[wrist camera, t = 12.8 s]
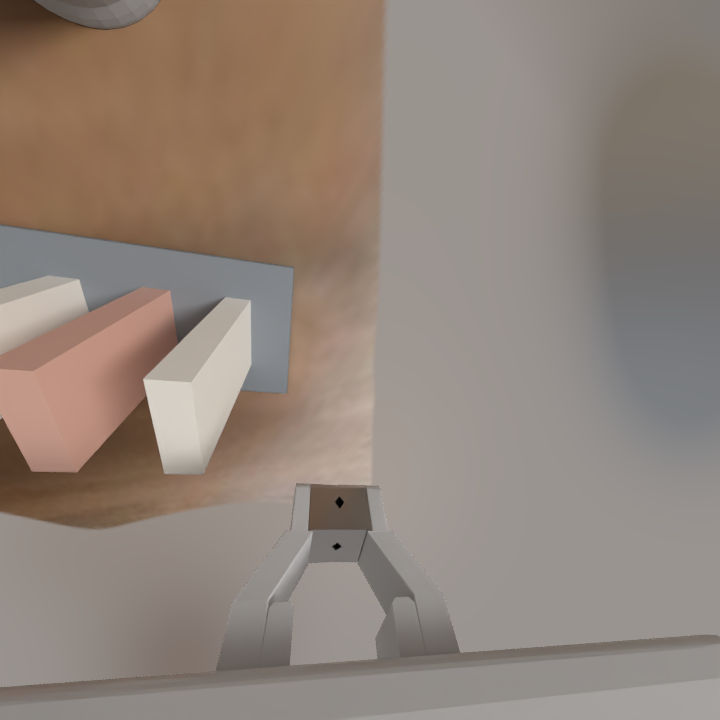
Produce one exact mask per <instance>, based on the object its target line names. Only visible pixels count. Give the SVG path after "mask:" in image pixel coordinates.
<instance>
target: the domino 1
mask: <svg viewBox="0 0 720 720" xmlns="http://www.w3.org/2000/svg"><path fill="white" fill-rule="evenodd" d="M87 313H89V311H88V308H87V304H86V301H85V297H84V294H83V291H82V287H81V284H80V280H79V279H73V278H65V277H56V276H45V277H41V278H38V279H34V280H30V281H27V282H23V283H19V284H16V285H12V286H8V287H5V288H1V289H0V355H2V354H4V353H6V352H8V351H10V350H12V349H14V348H16V347H18V346H21V345H23V344H25V343H27V342H29V341H31V340H33V339H35V338H37V337H39V336H41V335H43V334H46V333H48V332H50V331H52V330H54V329H56V328H58V327H60V326H62V325H64V324H66V323H68V322H70V321H73V320H75V319H77V318H79V317H81V316H83V315H85V314H87ZM2 418H3V417H2V415H1V414H0V419H2Z"/></svg>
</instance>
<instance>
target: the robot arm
mask: <svg viewBox="0 0 720 720" xmlns="http://www.w3.org/2000/svg"><path fill="white" fill-rule="evenodd" d="M318 562H358V565H359V567H360V568H361V570H362V572H363V573H364V575H365V577H366V579H367V581H368V583H369V584H370V586H371V588H372V590H373V592H374V593H375V595H376V597H377V599H378V601H379V602H380V604H381V606H382V608H383V609H384V611H385V613H386V617H385V619H384V621H383V624H382V626H381V628H380V630H379V632H378V634H377V636H376V638H375V639H376V649H377V659H372V660H360V661H346V662H332V663H320V664H307V665H293V666H290V652H291V639H292V627H293V614H294V606H293V605H292V604H291V603H290V602H289V601H288V600H289V598H290V596H291V594H292V592H293V591H294V589H295V587H296V585H297V584H298V582H299V580H300V578H301V576H302V575H303V573H304V571H305V569H306V567H307V566H308V563H318ZM0 720H720V636H717V635H693V636H680V637H668V638H653V639H640V640H626V641H613V642H600V643H586V644H573V645H561V646H547V647H534V648H520V649H506V650H493V651H479V652H466V653H460V651H459V647H458V644H457V640H456V637H455V633H454V630H453V626H452V623H451V620H450V616H449V613H448V609H447V606H446V602H445V599H444V596H443V594H442V592H441V591H440V590H439V589H438V588H437V586H436V585H435V584H434V582H433V581H432V580H431V579H430V577H429V576H428V575H427V574H426V572H425V571H424V570H423V569H422V567H421V566H420V565H419V564H418V562H417V561H416V560H415V559H414V557H413V556H412V555H411V554H410V552H409V551H408V550H407V549H406V547H405V546H404V545H403V544H402V542H401V541H400V540H399V539H398V537H397V536H396V535H395V534H394V533H393V531H388V527H387V522H386V517H385V511H384V506H383V500H382V496H381V490H380V487H379V486H365V485H321V484H311V485H310V484H299V483H296V487H295V494H294V503H293V512H292V521H291V529H290V531H285V532H284V534H283V535H282V536H281V538H280V539H279V541H278V542H277V543H276V544H275V546H274V547H273V548H272V550H271V551H270V552H269V554H268V555H267V556H266V558H265V559H264V560H263V562H262V563H261V564H260V566H259V567H258V568H257V570H256V571H255V572H254V574H253V575H252V577H251V578H250V579H249V581H248V582H247V583H246V585H245V586H244V587H243V589H242V590H241V591H240V592H239V594H238V595H237V597H236V598H235V599H234V601H233V602H232V607H231V610H230V614H229V619H228V623H227V627H226V631H225V635H224V639H223V643H222V647H221V651H220V655H219V660H218V663H217V668H216V671H212V672H200V673H185V674H173V675H160V676H145V677H132V678H119V679H106V680H92V681H79V682H65V683H52V684H39V685H25V686H12V687H0Z"/></svg>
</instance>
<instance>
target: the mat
mask: <svg viewBox="0 0 720 720" xmlns="http://www.w3.org/2000/svg"><path fill="white" fill-rule="evenodd" d="M45 276H56V277H65V278H73V279H79V280H80V284H81V287H82V291H83V294H84V297H85V301H86V304H87V308H88V311H89V312H91V311H93V310H95V309H98V308H100V307H102V306H104V305H106V304H108V303H110V302H112V301H114V300H116V299H118V298H120V297H122V296H125V295H127V294H129V293H131V292H133V291H135V290H137V289H139V288H141V287H147V288H155V289H163V290H170V294H171V300H172V307H173V314H174V321H175V327H176V334H177V341H178V344H179V343H180V342H181V341H182V340H183V339H184V338H185V337H186V336H187V335H188V334H189V333H190V332H191V331H192V330H193V329H194V328H195V327H196V326H197V325H198V324H199V323H200V322H201V321H202V320H203V319H204V318H205V317H206V316H207V315H208V314H209V313H210V312H211V311H212V310H213V309H214V308H215V307H216V306H217V305H218V304H219V303H220V302H221V301H222V300H223V299H224V298H225V297H228V298H236V299H244V300H251V366H250V369H249V371H248V373H247V376H246V378H245V380H244V382H243V385H242V387H241V389H240V390H241V391H256V392H271V393H285V394H287V384H288V366H289V348H290V331H291V313H292V295H293V278H294V267H289V266H282V265H276V264H269V263H262V262H255V261H248V260H241V259H235V258H228V257H221V256H214V255H207V254H200V253H193V252H187V251H180V250H173V249H166V248H159V247H152V246H146V245H139V244H132V243H125V242H118V241H111V240H105V239H98V238H91V237H84V236H77V235H70V234H63V233H57V232H50V231H43V230H36V229H29V228H22V227H16V226H9V225H2V224H0V289H1V288H5V287H8V286H12V285H16V284H19V283H23V282H27V281H30V280H34V279H38V278H41V277H45Z"/></svg>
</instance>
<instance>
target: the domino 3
mask: <svg viewBox="0 0 720 720" xmlns="http://www.w3.org/2000/svg"><path fill="white" fill-rule="evenodd" d="M250 366H251V300H244V299H236V298H228V297H225V298H224V299H223V300H222V301H221V302H220V303H219V304H218V305H217V306H216V307H215V308H214V309H213V310H212V311H211V312H210V313H209V314H208V315H207V316H206V317H205V318H204V319H203V320H202V321H201V322H200V323H199V324H198V325H197V326H196V327H195V328H194V329H193V330H192V331H191V332H190V333H189V334H188V335H187V336H186V337H185V338H184V339H183V340H182V341H181V342H180V343H179V344H178V345H177V346H176V347H175V348H174V349H173V350H172V351H171V352H170V353H169V354H168V355H167V356H166V357H165V358H164V359H163V360H162V361H161V362H160V363H159V364H158V365H157V366H156V367H155V368H154V369H153V370H152V371H151V372H150V373H149V374H148V375H147V376H146V377H145V378H144V379H143V381H144V386H145V390H146V395H147V399H148V403H149V408H150V412H151V417H152V421H153V426H154V430H155V434H156V439H157V443H158V448H159V452H160V456H161V461H162V465H163V470H164V474H201V475H203V474H204V472H205V470H206V468H207V465H208V463H209V461H210V458H211V456H212V454H213V451H214V449H215V447H216V445H217V442H218V440H219V438H220V435H221V433H222V431H223V428H224V426H225V424H226V422H227V419H228V417H229V415H230V412H231V410H232V408H233V405H234V403H235V401H236V399H237V396H238V394H239V392H240V389H241V387H242V385H243V382H244V380H245V378H246V376H247V373H248V371H249V369H250Z"/></svg>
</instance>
